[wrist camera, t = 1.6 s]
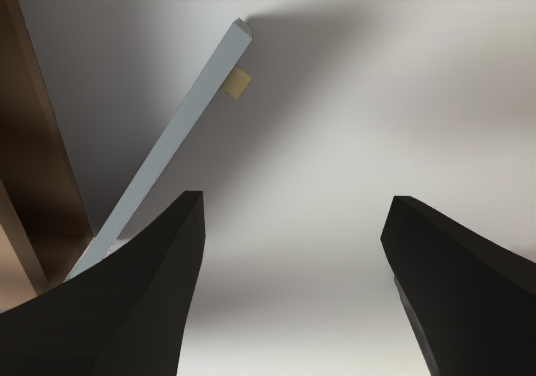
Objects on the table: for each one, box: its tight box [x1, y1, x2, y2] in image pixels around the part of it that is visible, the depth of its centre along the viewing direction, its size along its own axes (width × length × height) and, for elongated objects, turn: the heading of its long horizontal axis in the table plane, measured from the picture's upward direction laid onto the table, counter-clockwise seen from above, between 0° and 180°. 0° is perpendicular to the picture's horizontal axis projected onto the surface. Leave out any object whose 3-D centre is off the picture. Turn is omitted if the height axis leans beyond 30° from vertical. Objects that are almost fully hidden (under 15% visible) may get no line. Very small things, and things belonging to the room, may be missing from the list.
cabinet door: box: [69, 18, 253, 280], centre depth 16 cm, size 18×2×6 cm, turn 142°
